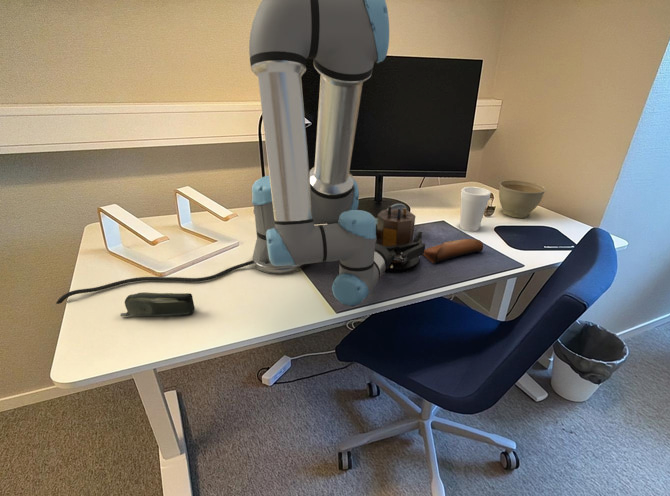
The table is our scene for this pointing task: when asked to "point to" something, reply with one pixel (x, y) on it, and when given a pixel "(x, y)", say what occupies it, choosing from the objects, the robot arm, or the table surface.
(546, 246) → the table surface
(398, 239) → the pen carousel
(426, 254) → the sunglasses case
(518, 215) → the planter bowl
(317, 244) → the robot arm
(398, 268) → the base
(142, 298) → the dark green rounded block
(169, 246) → the table surface
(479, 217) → the foam cup
